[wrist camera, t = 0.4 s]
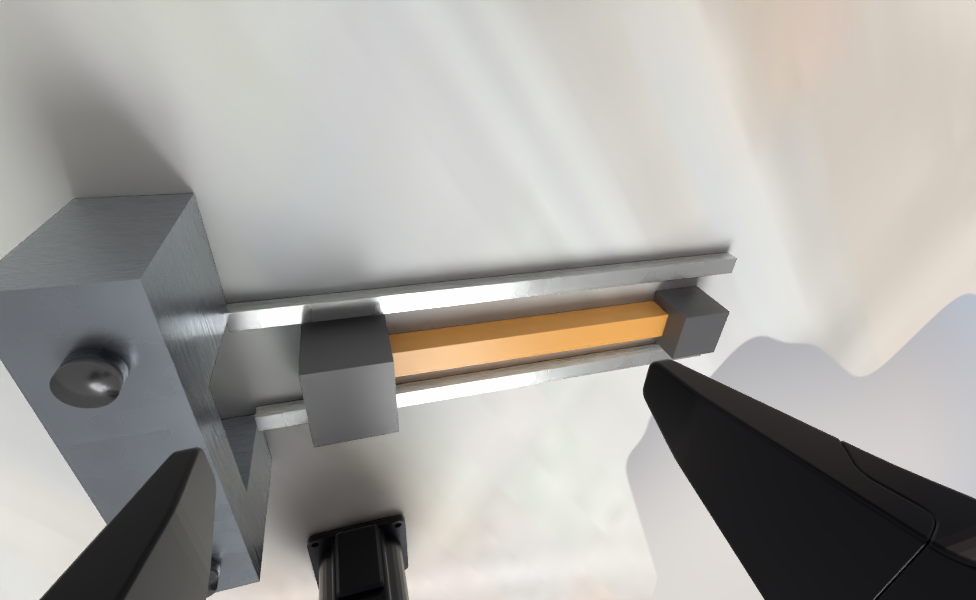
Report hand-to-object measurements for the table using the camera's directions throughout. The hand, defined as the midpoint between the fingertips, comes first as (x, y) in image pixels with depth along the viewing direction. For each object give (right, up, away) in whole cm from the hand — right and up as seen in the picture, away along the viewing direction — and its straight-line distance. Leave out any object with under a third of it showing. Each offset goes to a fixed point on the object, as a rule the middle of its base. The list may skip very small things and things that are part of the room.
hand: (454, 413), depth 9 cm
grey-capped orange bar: (+3, +1, +18) cm, 18 cm away
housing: (0, +1, +17) cm, 17 cm away
